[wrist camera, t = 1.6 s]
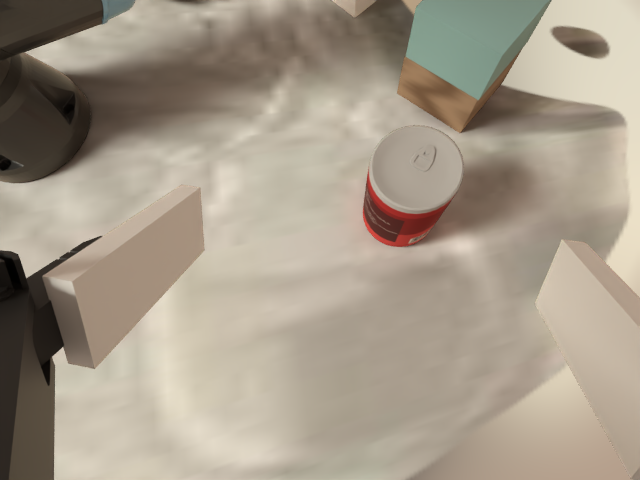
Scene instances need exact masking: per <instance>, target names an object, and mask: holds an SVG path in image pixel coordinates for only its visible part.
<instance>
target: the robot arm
mask: <svg viewBox="0 0 640 480" xmlns="http://www.w3.org/2000/svg"><path fill="white" fill-rule="evenodd" d="M134 3H135V0H0V181H3V182H9V183H20V182H28V181H32V180H36V179H39V178H41V177H44V176H46V175H48V174H50V173H52V172H54V171H55V170H57V169H58V168H60V167H61V166H63V165H64V164H65V163H66V162H67V161H69V160H70V159H71V158H72V157H73V155H74V154H75V153H76V152H77V151H78V149H79V148H80V146H81V145H82V143H83V141H84V140H85V137H86V135H87V133H88V129H89V125H90V117H91V114H90V107H89V103H88V100H87V98H86V97H85V95H84V94H83V92H82V91H81V90H80V89H79V88H78V87H77V86H76V85H75V84H74V83H73V82H72V81H71V80H70V79H69V78H68V77H67V76H66V75H64V74H63V73H62V72H60V71H58V70H56V69H54V68H53V67H51V66H49V65H47V64H45V63H43V62H41V61H39V60H38V59H36V58H34V57H32V56H30V55H28V54H26V53H24V52H26V51H29V50H31V49H34V48H37V47H40V46H42V45H45V44H48V43H51V42H53V41H56V40H59V39H62V38H64V37H67V36H70V35H72V34H75V33H78V32H81V31H83V30H86V29H89V28H92V27H94V26H97V25H100V24H105V23H107V22H108V20H109V19H111V18H113V17H115V16H117V15H119V14H121V13H123V12H126V11H128V10H129V9H130V8H131V7H132V6H133V5H134ZM203 251H204V237H203V221H202V206H201V191H200V187H194V186H187V185H180V186H179V187H177V188H176V189H174V190H173V191H171V192H170V193H168V194H167V195H165V196H163V197H162V198H160V199H159V200H157V201H156V202H154V203H153V204H151V205H150V206H148V207H147V208H145V209H144V210H142V211H141V212H139V213H138V214H136V215H135V216H133V217H131V218H130V219H128V220H127V221H125V222H124V223H122V224H121V225H119V226H118V227H116V228H115V229H113V230H112V231H110V232H109V233H107V234H106V235H104V236H99V237H97V238H94V239H91V240H88V241H86V242H83V243H82V244H80V245H79V246H77V247H75V248H74V249H72V250H71V251H70V253H69V252H68V253H66V254H64V255H63V256H61V257H60V259H59V260H58V259H56V260H55V261H53V262H52V263H50V264H49V265H47V266H45V267H44V268H42V269H41V270H39V271H38V272H36V273H34V274H33V275H31V276H30V277H28V278H27V279H26V276H25V273H24V270H23V267H22V264H21V261H20V258H19V256H18V254H16V253H14V252H11V251H0V480H54V415H55V365H54V362H53V359H52V356H53V355H54V354H56V353H57V352H58V351H59V350H60V349H61V348H62V347H64V351H65V354H66V357H67V361H68V363H69V364H74V365H78V366H83V367H88V368H93V369H95V368H96V367H97V366H98V365H99V364H100V363H101V362H102V361H103V360H104V358H105V357H106V356H107V355H108V354H109V353H110V352H111V351H112V350H113V349H114V348H115V347H116V345H117V344H118V343H119V342H120V341H121V340H122V339H123V338H124V337H125V336H126V335H127V334H128V332H129V331H130V330H131V329H132V328H133V327H134V326H135V325H136V324H137V323H138V322H139V321H140V319H141V318H142V317H143V316H144V315H145V314H146V313H147V312H148V311H149V310H150V309H151V308H152V306H153V305H154V304H155V303H156V302H157V301H158V300H159V299H160V298H161V297H162V296H163V295H164V293H165V292H166V291H167V290H168V289H169V288H170V287H171V286H172V285H173V284H174V283H175V282H176V280H177V279H178V278H179V277H180V276H181V275H182V274H183V273H184V272H185V271H186V270H187V269H188V267H189V266H190V265H191V264H192V263H193V262H194V261H195V260H196V259H197V258H198V257H199V256H200V254H201V253H202V252H203ZM535 305H536V307H537V309H538V311H539V313H540V315H541V316H542V318H543V320H544V322H545V324H546V325H547V327H548V329H549V331H550V333H551V335H552V336H553V338H554V340H555V342H556V344H557V346H558V347H559V349H560V351H561V353H562V355H563V356H564V358H565V360H566V362H567V364H568V366H569V367H570V369H571V371H572V373H573V375H574V376H575V378H576V380H577V382H578V383H579V386H580V387H581V389H582V391H583V393H584V395H585V397H586V398H587V400H588V402H589V404H590V406H591V407H592V409H593V411H594V413H595V415H596V417H597V418H598V420H599V422H600V424H601V426H602V428H603V429H604V431H605V433H606V435H607V437H608V438H609V440H610V442H611V444H612V446H613V448H614V449H615V451H616V453H617V455H618V457H619V459H620V460H621V462H622V464H623V466H624V468H625V470H626V471H627V473H628V475H629V477H630V479H634V480H640V298H639V297H638V296H637V295H636V294H635V293H634V292H633V290H631V288H630V287H629V286H628V285H627V284H626V283H625V282H624V281H623V280H622V279H621V278H620V277H619V276H618V275H617V274H616V273H615V272H614V271H613V270H612V269H611V268H610V267H609V266H608V265H607V264H606V263H605V262H604V261H603V260H602V259H601V258H600V257H599V256H598V255H597V254H596V253H595V252H594V251H593V250H592V249H591V247H590V246H589V245H588V244H587V243H585V242H578V241H571V240H564V239H562V241H561V243H560V245H559V248H558V250H557V252H556V255H555V257H554V259H553V262H552V264H551V266H550V269H549V271H548V274H547V276H546V278H545V281H544V283H543V285H542V288H541V290H540V292H539V295H538V297H537V299H536V302H535Z"/></svg>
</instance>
